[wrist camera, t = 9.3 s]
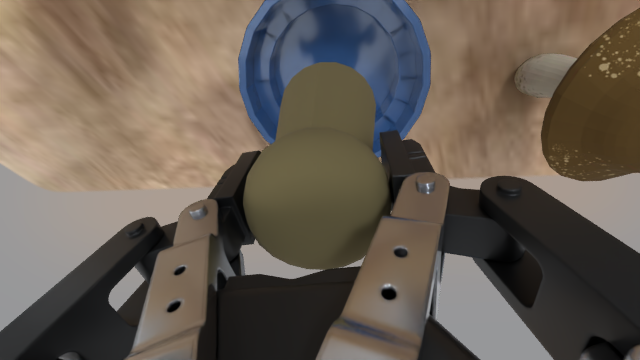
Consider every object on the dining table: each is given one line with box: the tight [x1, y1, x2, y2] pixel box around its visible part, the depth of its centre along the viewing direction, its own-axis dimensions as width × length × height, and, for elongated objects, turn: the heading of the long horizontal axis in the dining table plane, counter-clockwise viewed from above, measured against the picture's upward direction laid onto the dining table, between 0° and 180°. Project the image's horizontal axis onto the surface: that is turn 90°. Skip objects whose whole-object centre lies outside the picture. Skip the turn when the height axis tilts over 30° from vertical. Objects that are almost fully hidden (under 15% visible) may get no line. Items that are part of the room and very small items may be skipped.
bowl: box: [238, 0, 431, 158], centre depth 25 cm, size 15×15×6 cm
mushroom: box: [514, 8, 640, 181], centre depth 19 cm, size 9×11×15 cm
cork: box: [243, 62, 393, 270], centre depth 13 cm, size 6×6×11 cm
